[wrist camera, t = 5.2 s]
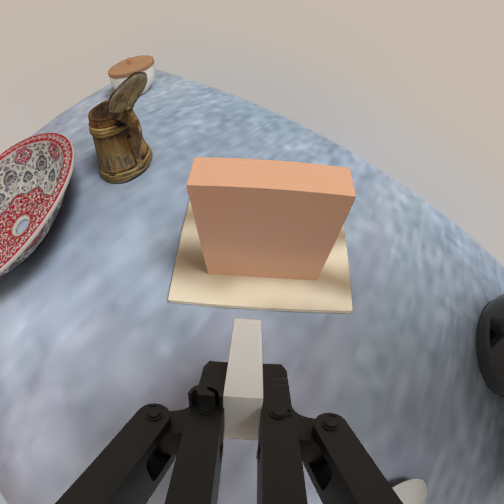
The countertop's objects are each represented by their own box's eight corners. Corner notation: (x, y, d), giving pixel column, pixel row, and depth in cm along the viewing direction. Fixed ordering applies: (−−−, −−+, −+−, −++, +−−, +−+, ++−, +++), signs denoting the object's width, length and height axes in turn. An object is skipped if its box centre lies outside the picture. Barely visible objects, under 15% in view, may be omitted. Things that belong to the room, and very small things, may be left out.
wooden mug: (142, 203, 38) (101, 92, 22) (92, 173, 41) (53, 83, 26) (183, 165, 42) (163, 57, 26) (129, 141, 45) (103, 53, 30)
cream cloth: (350, 313, 30) (352, 310, 30) (169, 302, 31) (168, 299, 30) (332, 171, 41) (334, 168, 41) (200, 163, 42) (200, 159, 41)
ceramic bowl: (83, 142, 46) (70, 111, 39) (112, 255, 34) (85, 217, 27) (-23, 211, 38) (-42, 188, 31) (-27, 337, 26) (-61, 319, 19)
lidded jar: (110, 94, 56) (102, 62, 48) (149, 77, 59) (143, 46, 51) (122, 108, 52) (112, 72, 44) (165, 89, 55) (159, 54, 47)
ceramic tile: (316, 280, 31) (355, 196, 19) (208, 273, 32) (186, 185, 20) (315, 254, 33) (349, 165, 21) (211, 248, 33) (195, 155, 21)
